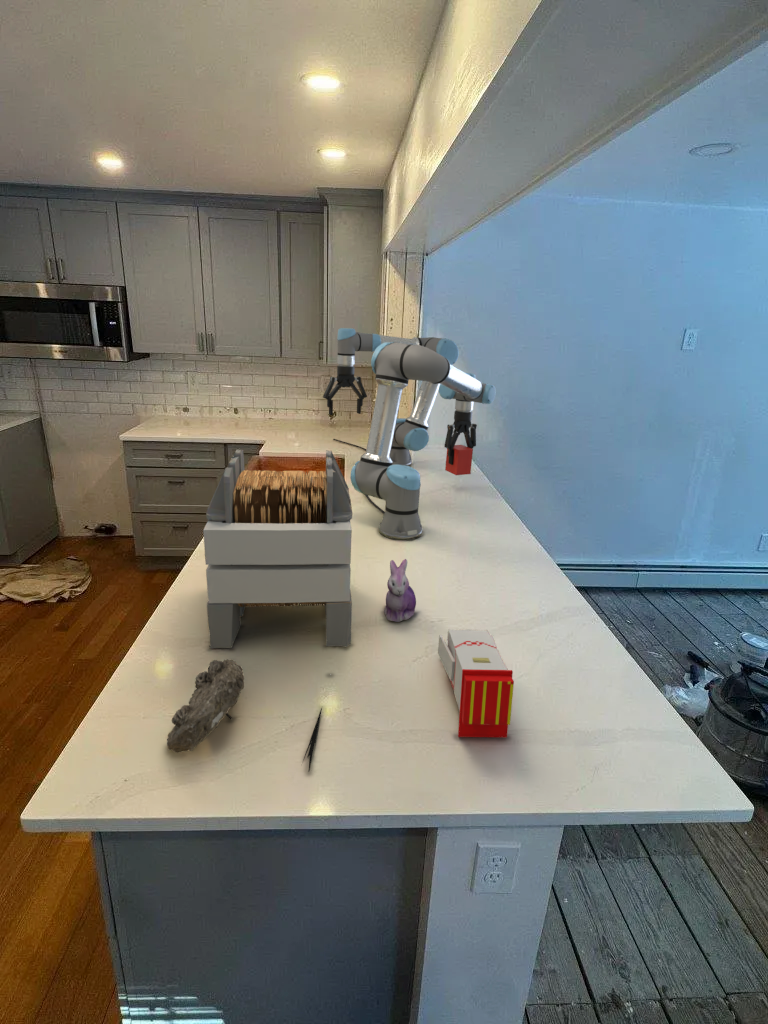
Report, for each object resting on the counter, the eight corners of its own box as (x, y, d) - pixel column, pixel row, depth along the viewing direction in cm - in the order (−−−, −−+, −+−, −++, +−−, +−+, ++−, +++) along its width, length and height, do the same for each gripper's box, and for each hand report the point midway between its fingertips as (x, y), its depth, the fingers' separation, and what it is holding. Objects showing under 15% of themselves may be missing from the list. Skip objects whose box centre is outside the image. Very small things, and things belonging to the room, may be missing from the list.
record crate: (229, 582, 160) (221, 440, 146) (345, 581, 163) (348, 442, 150) (207, 650, 128) (194, 478, 114) (351, 647, 132) (356, 479, 118)
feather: (331, 679, 122) (336, 673, 122) (307, 777, 96) (313, 769, 95) (324, 675, 122) (329, 669, 121) (298, 772, 95) (304, 764, 95)
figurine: (392, 627, 141) (395, 572, 136) (374, 608, 149) (376, 556, 144) (425, 619, 145) (429, 566, 140) (405, 601, 154) (408, 550, 149)
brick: (470, 474, 246) (473, 449, 242) (456, 475, 243) (458, 450, 239) (459, 468, 253) (461, 444, 249) (445, 470, 250) (447, 445, 246)
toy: (488, 613, 130) (523, 677, 101) (484, 667, 133) (517, 744, 104) (435, 612, 130) (455, 676, 101) (432, 666, 133) (451, 743, 103)
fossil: (192, 660, 117) (244, 628, 112) (224, 691, 120) (276, 661, 115) (142, 746, 98) (202, 712, 93) (182, 779, 101) (242, 748, 96)
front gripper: (478, 408, 246) (472, 459, 254) (438, 409, 237) (434, 462, 245) (488, 411, 240) (482, 463, 248) (448, 413, 231) (443, 467, 239)
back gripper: (368, 364, 255) (366, 411, 263) (315, 364, 244) (315, 413, 252) (375, 366, 249) (373, 414, 256) (322, 366, 238) (321, 416, 245)
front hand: (458, 463), depth 246 cm, fingers closed on brick, 7 cm apart
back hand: (344, 414), depth 254 cm, fingers open, 13 cm apart
